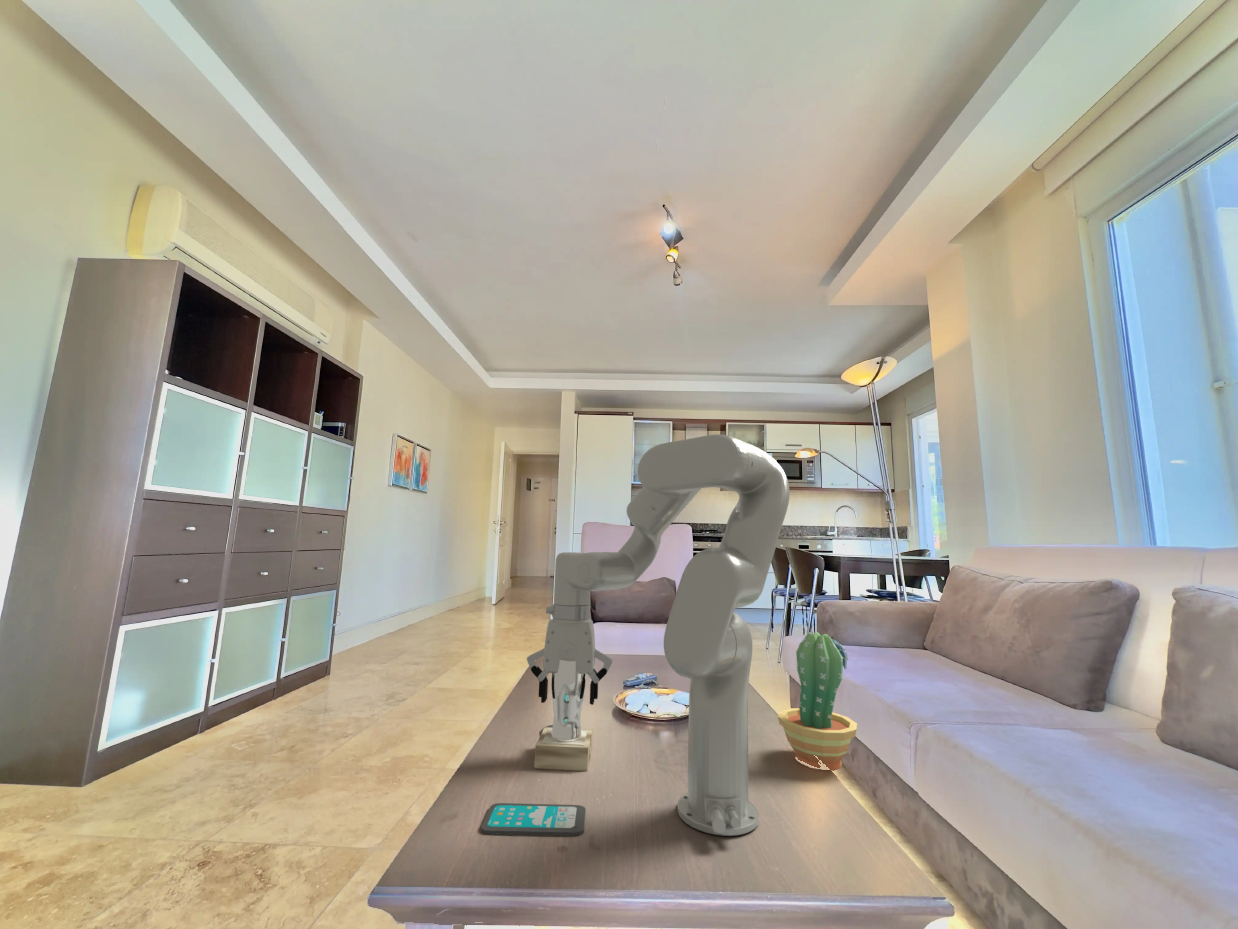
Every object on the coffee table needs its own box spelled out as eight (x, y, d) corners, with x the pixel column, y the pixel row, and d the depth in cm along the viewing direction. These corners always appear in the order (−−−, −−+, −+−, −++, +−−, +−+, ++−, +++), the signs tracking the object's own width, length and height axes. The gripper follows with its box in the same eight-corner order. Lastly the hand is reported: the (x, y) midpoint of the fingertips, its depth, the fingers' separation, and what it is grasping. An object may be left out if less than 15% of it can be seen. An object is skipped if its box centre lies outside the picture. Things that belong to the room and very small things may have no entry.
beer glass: (586, 731, 105) (589, 654, 107) (580, 744, 98) (584, 661, 101) (552, 729, 106) (556, 652, 108) (544, 741, 99) (549, 659, 101)
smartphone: (583, 832, 75) (479, 829, 74) (583, 839, 74) (478, 837, 74) (585, 803, 83) (492, 801, 83) (585, 810, 83) (491, 807, 83)
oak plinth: (587, 770, 96) (588, 747, 97) (534, 768, 97) (535, 744, 97) (591, 750, 106) (592, 728, 107) (543, 747, 107) (544, 726, 107)
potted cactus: (869, 782, 96) (863, 642, 100) (782, 772, 99) (780, 636, 103) (849, 751, 111) (845, 630, 114) (774, 743, 114) (773, 625, 118)
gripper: (525, 614, 102) (520, 706, 100) (612, 617, 102) (610, 709, 99) (533, 610, 110) (528, 695, 107) (614, 612, 109) (612, 698, 106)
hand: (568, 701), depth 103 cm, fingers open, 9 cm apart
